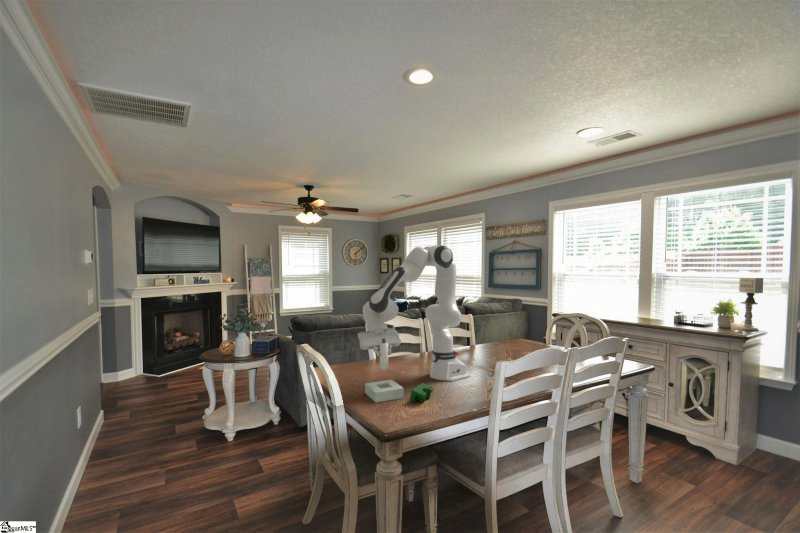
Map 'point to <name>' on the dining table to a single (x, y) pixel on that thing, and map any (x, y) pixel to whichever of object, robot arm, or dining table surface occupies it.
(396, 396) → the housing
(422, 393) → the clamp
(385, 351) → the white bottle
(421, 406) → the dining table surface
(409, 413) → the dining table surface
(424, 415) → the dining table surface
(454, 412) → the dining table surface
